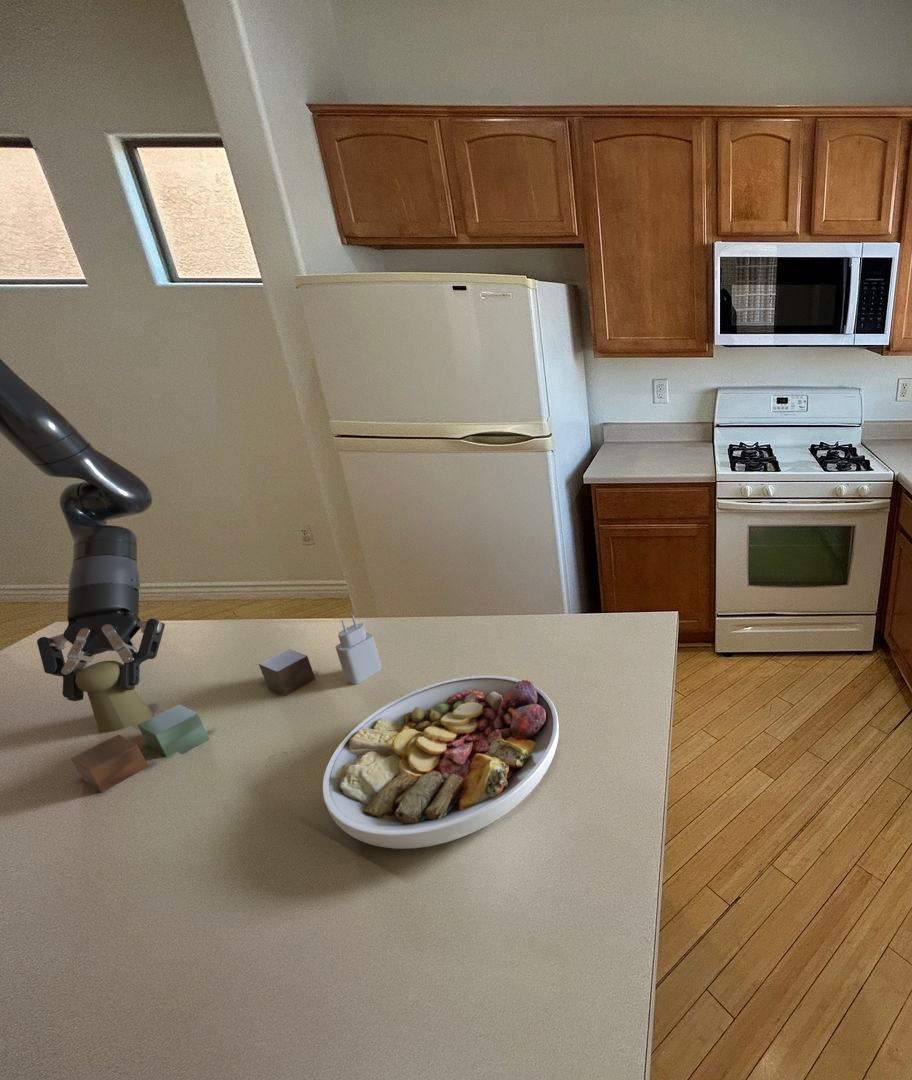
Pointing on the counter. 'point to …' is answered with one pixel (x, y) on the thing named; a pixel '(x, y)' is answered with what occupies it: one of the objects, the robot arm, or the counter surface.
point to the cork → (111, 697)
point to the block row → (177, 728)
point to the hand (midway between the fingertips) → (102, 694)
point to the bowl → (441, 761)
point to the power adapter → (357, 653)
